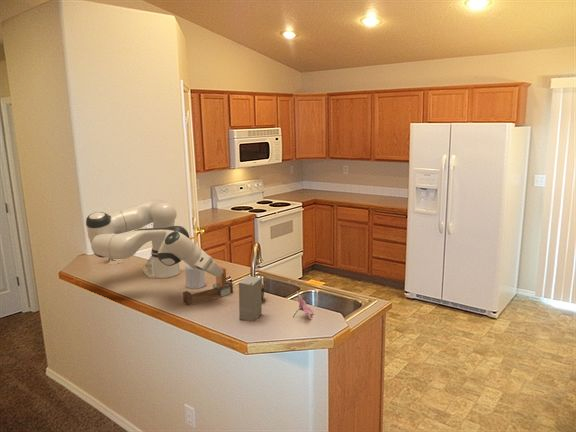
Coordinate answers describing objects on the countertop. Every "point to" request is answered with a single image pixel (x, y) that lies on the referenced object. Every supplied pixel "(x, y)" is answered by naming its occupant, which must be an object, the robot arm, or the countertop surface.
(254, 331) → the countertop surface
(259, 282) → the skincare box
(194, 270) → the soap bottle
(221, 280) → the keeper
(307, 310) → the lily
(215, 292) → the rail
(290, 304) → the countertop surface
